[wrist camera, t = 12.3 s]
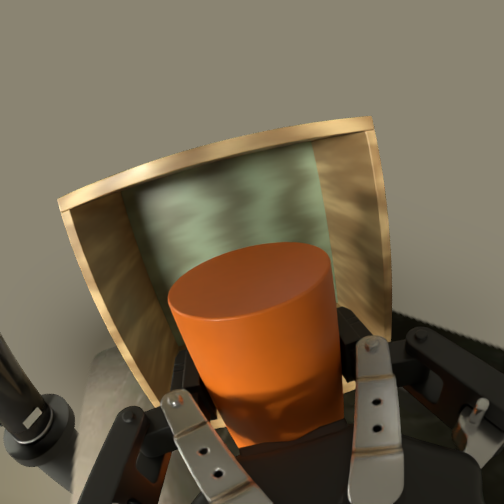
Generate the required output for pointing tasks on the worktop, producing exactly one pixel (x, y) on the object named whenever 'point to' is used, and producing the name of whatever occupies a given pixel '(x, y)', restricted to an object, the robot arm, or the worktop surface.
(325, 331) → the can
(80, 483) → the worktop surface
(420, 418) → the worktop surface
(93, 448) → the worktop surface
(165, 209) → the shelf unit
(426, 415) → the worktop surface
